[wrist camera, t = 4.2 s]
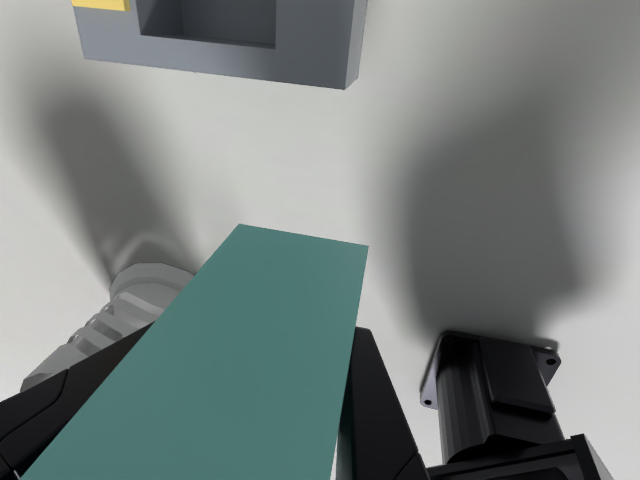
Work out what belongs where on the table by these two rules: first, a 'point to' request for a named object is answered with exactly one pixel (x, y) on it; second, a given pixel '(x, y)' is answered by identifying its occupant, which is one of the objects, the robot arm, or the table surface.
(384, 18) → the table surface
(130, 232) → the table surface
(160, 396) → the teal rectangular block
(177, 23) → the port block
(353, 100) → the table surface
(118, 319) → the french press
